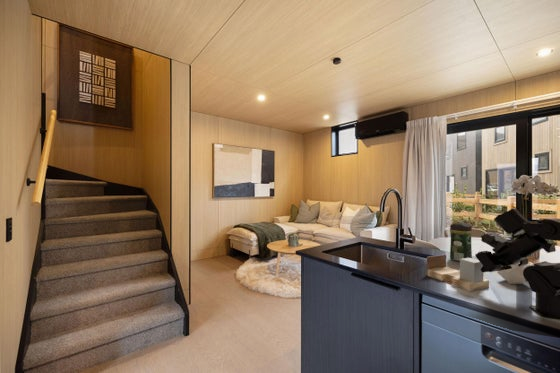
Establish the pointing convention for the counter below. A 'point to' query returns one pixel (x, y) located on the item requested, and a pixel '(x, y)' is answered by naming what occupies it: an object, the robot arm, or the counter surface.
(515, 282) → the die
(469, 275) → the gray block
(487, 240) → the robot arm
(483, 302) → the counter surface
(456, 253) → the coffee jar
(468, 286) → the trap box
